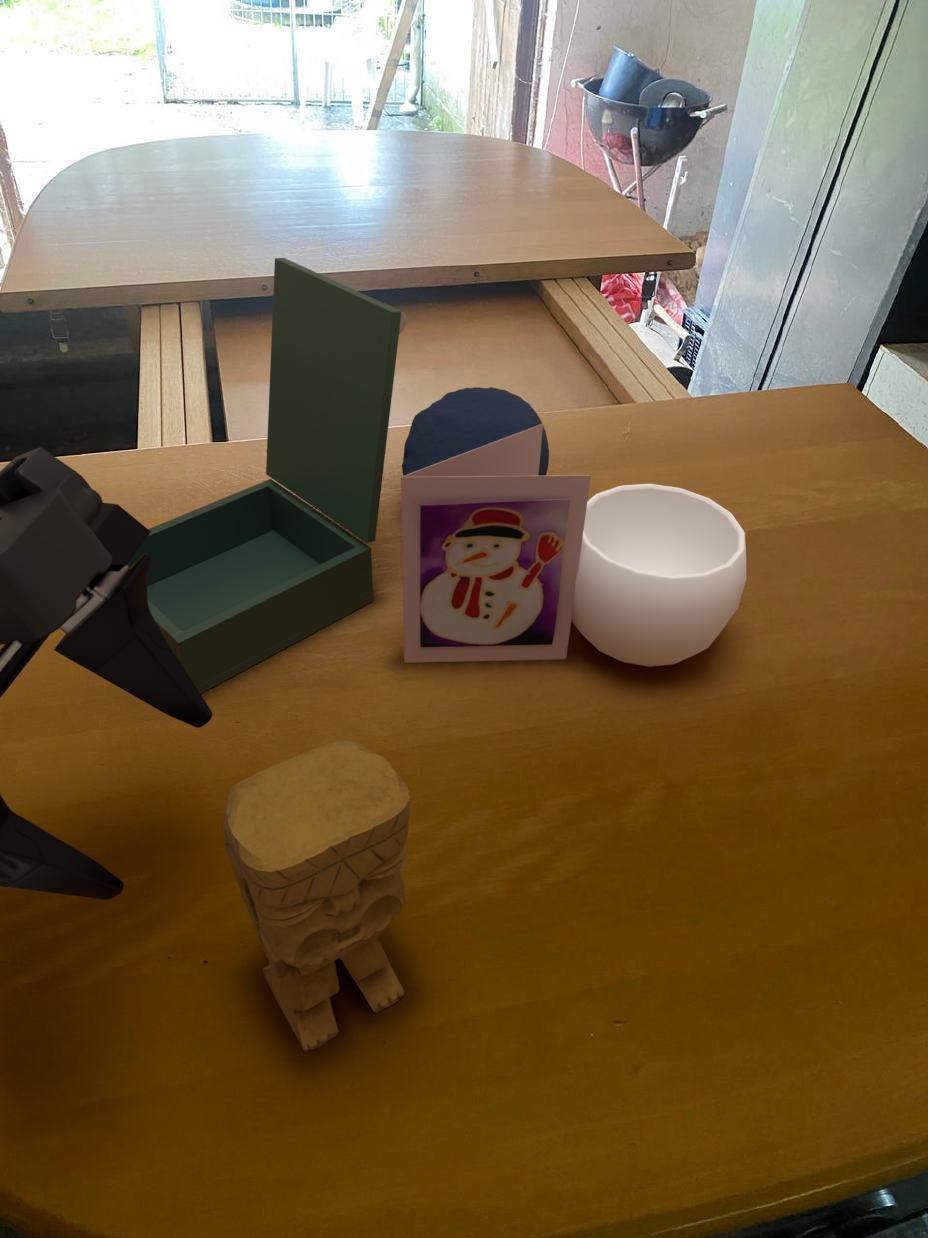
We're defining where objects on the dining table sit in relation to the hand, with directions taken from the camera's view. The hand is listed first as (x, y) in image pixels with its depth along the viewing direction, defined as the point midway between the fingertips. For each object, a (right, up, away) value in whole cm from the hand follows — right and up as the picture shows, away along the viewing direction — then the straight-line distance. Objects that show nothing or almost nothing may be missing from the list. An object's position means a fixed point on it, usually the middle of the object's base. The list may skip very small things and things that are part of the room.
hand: (166, 799), depth 39 cm
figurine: (+6, -11, +7) cm, 14 cm away
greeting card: (+14, +6, +28) cm, 32 cm away
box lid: (+3, +23, +26) cm, 35 cm away
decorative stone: (+13, +16, +40) cm, 45 cm away
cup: (+25, +6, +28) cm, 38 cm away
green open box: (-4, +9, +30) cm, 31 cm away
